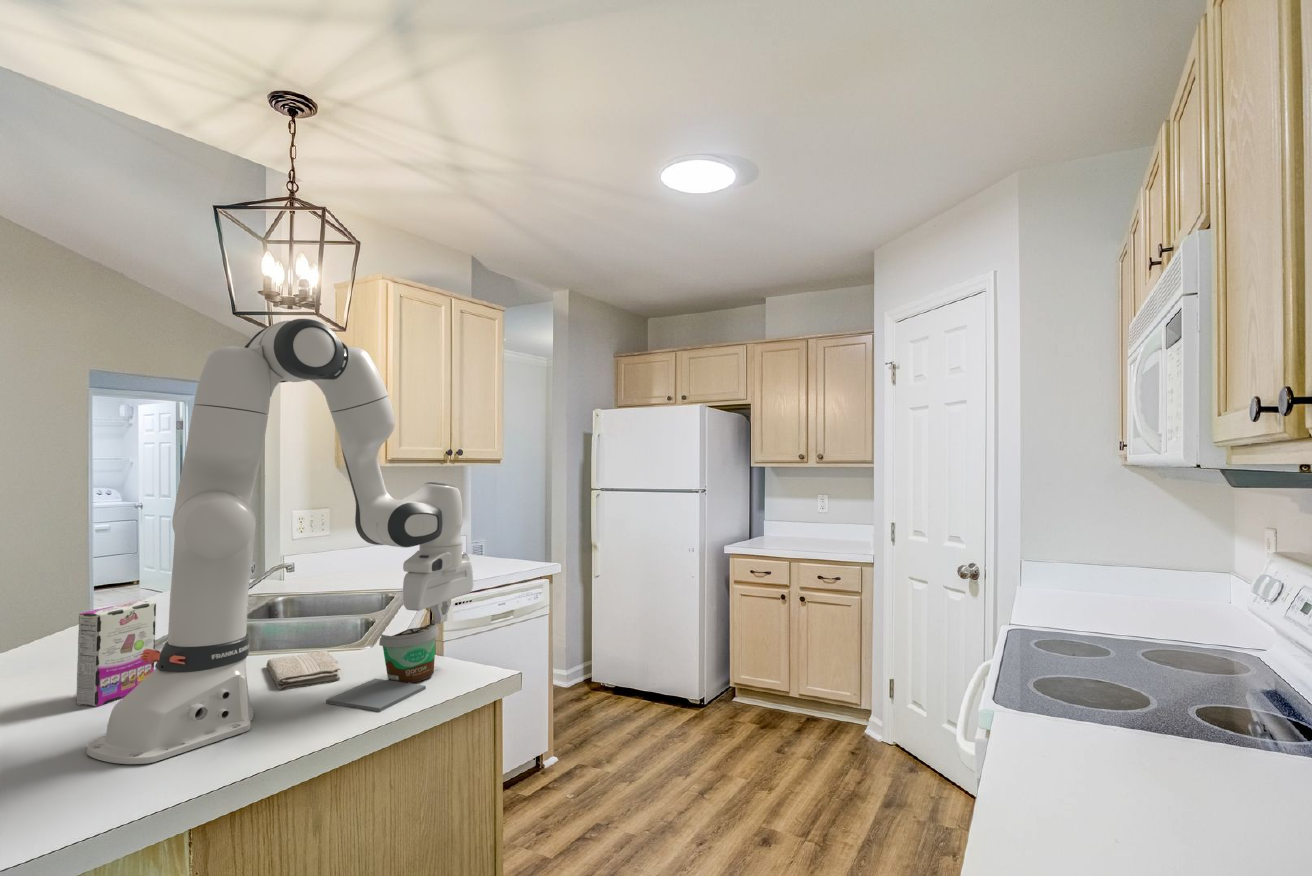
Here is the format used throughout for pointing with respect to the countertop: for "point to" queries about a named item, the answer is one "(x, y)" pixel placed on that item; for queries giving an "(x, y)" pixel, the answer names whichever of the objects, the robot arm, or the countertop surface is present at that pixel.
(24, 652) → the countertop surface
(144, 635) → the candy bar box
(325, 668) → the washcloth
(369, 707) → the mat
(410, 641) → the food container
